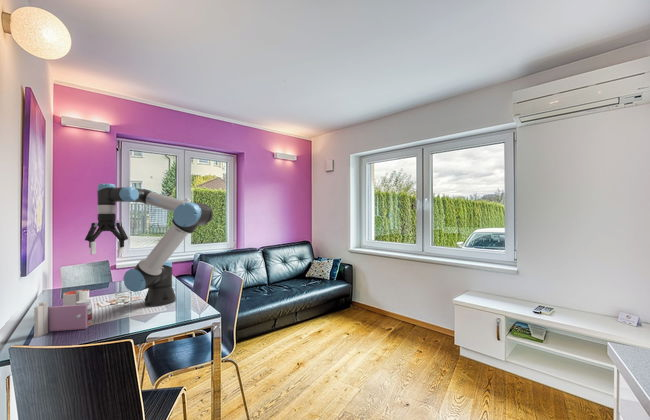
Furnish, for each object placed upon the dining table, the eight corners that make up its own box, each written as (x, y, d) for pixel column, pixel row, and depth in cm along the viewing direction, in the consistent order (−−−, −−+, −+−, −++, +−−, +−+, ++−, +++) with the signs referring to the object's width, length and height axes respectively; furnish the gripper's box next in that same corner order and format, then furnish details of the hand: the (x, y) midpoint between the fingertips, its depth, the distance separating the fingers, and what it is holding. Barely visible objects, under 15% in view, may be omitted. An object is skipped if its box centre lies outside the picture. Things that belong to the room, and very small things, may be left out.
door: (83, 330, 120) (83, 306, 120) (42, 333, 117) (42, 308, 117) (87, 327, 123) (87, 304, 123) (48, 330, 120) (48, 306, 120)
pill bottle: (72, 326, 124) (72, 301, 125) (90, 322, 129) (90, 298, 129) (75, 330, 120) (75, 304, 121) (93, 325, 125) (93, 300, 125)
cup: (73, 315, 138) (73, 295, 138) (57, 314, 140) (57, 294, 140) (94, 309, 148) (94, 289, 148) (78, 308, 150) (78, 289, 150)
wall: (87, 315, 139) (87, 288, 139) (38, 337, 114) (38, 304, 114) (84, 315, 139) (84, 288, 139) (33, 337, 114) (33, 304, 114)
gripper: (135, 213, 152) (135, 252, 152) (87, 213, 151) (87, 253, 151) (126, 213, 145) (126, 254, 145) (75, 213, 144) (76, 255, 143)
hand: (106, 254), depth 148 cm, fingers open, 13 cm apart
